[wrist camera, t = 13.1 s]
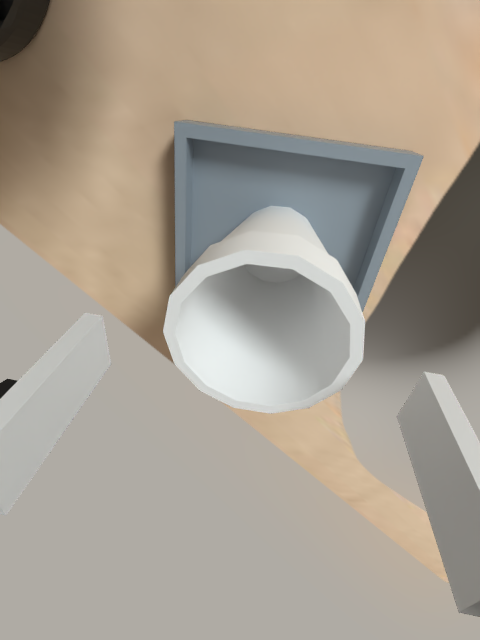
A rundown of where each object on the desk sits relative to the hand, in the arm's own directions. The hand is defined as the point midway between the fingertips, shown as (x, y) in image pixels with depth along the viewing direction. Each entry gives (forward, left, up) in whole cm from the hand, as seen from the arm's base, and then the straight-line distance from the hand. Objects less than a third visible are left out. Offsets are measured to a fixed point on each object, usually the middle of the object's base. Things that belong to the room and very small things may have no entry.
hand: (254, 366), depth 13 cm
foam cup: (0, 0, -15) cm, 15 cm away
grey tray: (0, 0, -16) cm, 16 cm away
